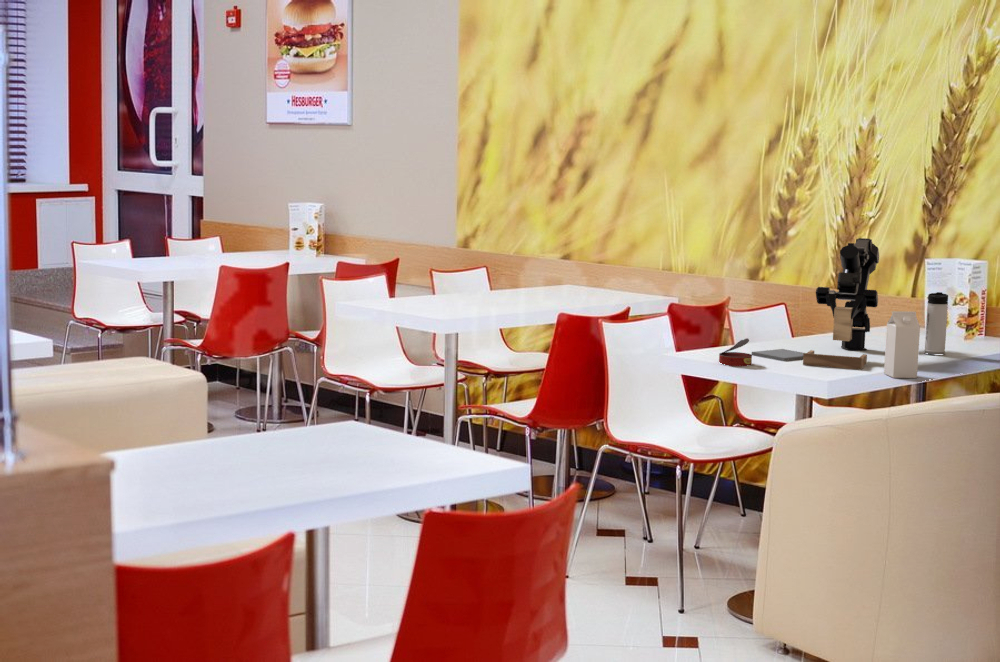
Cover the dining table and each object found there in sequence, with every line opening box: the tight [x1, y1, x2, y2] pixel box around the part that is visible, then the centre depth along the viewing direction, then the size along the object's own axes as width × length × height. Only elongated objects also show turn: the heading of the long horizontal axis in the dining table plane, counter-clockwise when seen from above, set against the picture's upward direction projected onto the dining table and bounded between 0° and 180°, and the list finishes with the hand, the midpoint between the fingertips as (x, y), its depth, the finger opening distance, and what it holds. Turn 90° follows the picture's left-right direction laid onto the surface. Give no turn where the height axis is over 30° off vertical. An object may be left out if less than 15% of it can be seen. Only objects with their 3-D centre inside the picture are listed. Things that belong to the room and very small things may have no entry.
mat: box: [751, 348, 805, 362], centre depth 407 cm, size 14×14×1 cm
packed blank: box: [832, 306, 853, 342], centre depth 401 cm, size 5×5×10 cm
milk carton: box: [883, 310, 921, 379], centre depth 372 cm, size 7×7×19 cm
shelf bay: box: [802, 349, 868, 370], centre depth 393 cm, size 12×17×4 cm
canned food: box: [718, 337, 753, 367], centre depth 391 cm, size 11×10×10 cm
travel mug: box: [924, 291, 949, 355], centre depth 417 cm, size 6×7×20 cm
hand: (842, 317), depth 400 cm, fingers closed on packed blank, 5 cm apart
